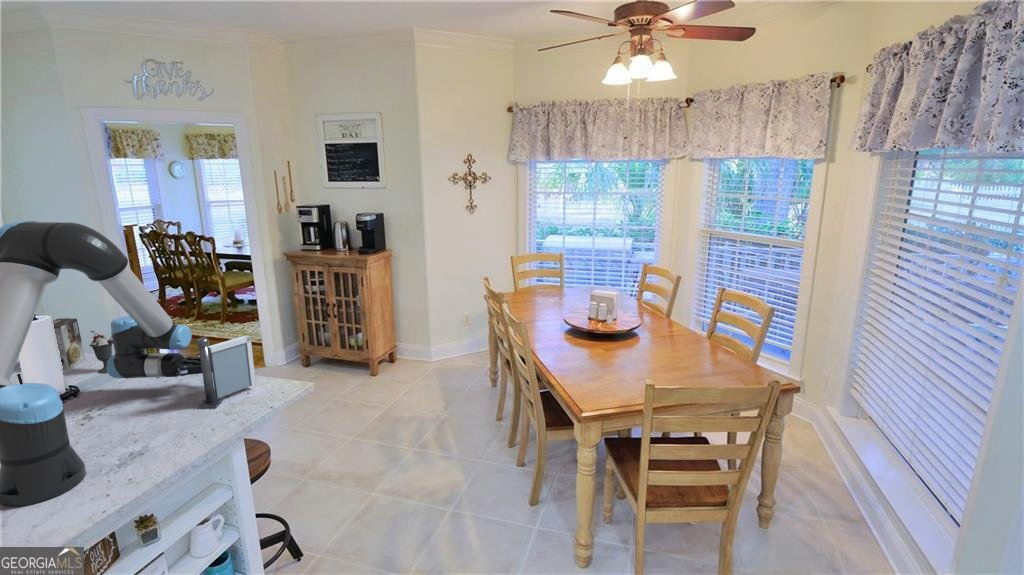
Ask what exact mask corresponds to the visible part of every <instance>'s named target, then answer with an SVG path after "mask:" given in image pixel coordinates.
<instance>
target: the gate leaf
mask: <svg viewBox="0 0 1024 575" xmlns="http://www.w3.org/2000/svg"><path fill="white" fill-rule="evenodd" d="M208 347H209V355H210V359H211V366H212V378H213V386H214V393H215V398H224V397H226V396H228V395H230V394H233V393H235V392H238V391H241V390H243V389H246V388H248V387H253V386H256V385H257V383H256V373H255V365H254V354H253V347H252V338H251V336H250V335H248V334H245V335H243V336H239V337H236V338H232V339H229V340H226V341H222V342H218V343H215V344H212V345H208Z"/></svg>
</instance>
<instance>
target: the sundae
mask: <svg viewBox="0 0 1024 575" xmlns="http://www.w3.org/2000/svg"><path fill="white" fill-rule="evenodd" d="M90 333H93V334H94V336H92V340H91V343H90V344H89V347H91V348H92V350H93V351H94V352H93V353H94V355H95V357H96V359H97V361H100V362H102V364H103V366H102V368H101V369H99V370H97V373H98V374H108V371H107V366H108V364H107V362H108V360H109V358H110V357H111V356H113V355H112V354H113V345H114V344H113V339H112V335H111V336H110V337H109V338H108V336H106V335H103V334H102V335H101V334H99V333H97V332H95V331H94V330H91V331H90ZM96 334H97V335H96Z"/></svg>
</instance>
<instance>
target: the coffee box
mask: <svg viewBox="0 0 1024 575" xmlns="http://www.w3.org/2000/svg"><path fill="white" fill-rule="evenodd" d="M52 321H53V324H54V329H55V334H56V339H57V344H58V349H59V351H60V358H61V362H62V366H63V369H65V370H64V371H66V370H67V371H68V370H71V369H73V368H74V367H76V366H78V365H79V364H81V363H82V362H84V361H86V356H85V352H84V347H83V341H82V338H81V337H82V336H81V333H80V332H81V331H80V327H79V322H78V319H77V317H75V318H70V317H69V318H68V317H66V318H65V317H64V318H55V319H53V320H52Z"/></svg>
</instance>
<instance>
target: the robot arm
mask: <svg viewBox="0 0 1024 575" xmlns="http://www.w3.org/2000/svg"><path fill="white" fill-rule="evenodd" d="M61 270H74V271H79V272H81V273H83V274H84V275H85V276H86V277H87V278H88V279H89V280H90V281H93V282H98V283H99V284H100V285H101V286H102V287H103V289H104V290H105V291H106V292H107V293H108V294H109V295H110V296H111V297H112V298H113V299H114V300H115V301H116V302H117V304H118V305H119V306H120V308H122V309H123V310H124V312H126V313H127V315H126V316H119V317H117V318H114V319H112V321H111V322H110V329H111V333H110V335H111V336H112V338H111V340H113V344H112V345H113V349H114V354H113V355H112V356H111V357H110V358H109V360H108V361H107V364H108V366H107V371H108V373H107V374H108V375H109V376H110V377H112V378H115V379H126V380H127V379H139V378H141V379H142V378H144V379H145V378H156V379H160V378H164V377H165V378H177V377H179V376H180V377H183V376H184V377H185V376H190V375H191V376H192V375H199V374H202V366H201V359H200V353H198V354H196V357H194V356H187V357H184V356H183V355H182V354H181V353H179V352H168V353H166V352H158V353H155V352H154V353H153V352H152V353H146V349H148V350H149V349H151V350H152V349H153V350H170V351H173V350H184V349H185V348H188V347H189V345H190V342H191V341H192V336H193V335H192V330H191V328H190V327H189V326H187V325H183V324H176V323H175V322H174V320H173V319H172V318H171V316H169V314H168V312H166V311H165V310H164V308H163V307H162V305H160V304H159V302H158V301H157V300H156V299H155V297H154V296H153V295H152V294H151V292H150V291H149V290H148V289H147V288H146V286H145V285H144V284H143V282H142V281H141V280H140V279H139V278H138V277H137V275H136V274H135V273H134V272H133V270H132V269H131V267H129V258H128V257H127V256H126V255H125V254H124V253H123V251H121V249H120V248H119V247H118V246H117V245H116V244H114V242H113V241H111V240H110V239H108V238H107V237H106V236H105V235H104V234H102V233H101V232H99V231H97V230H95V229H93V228H91V227H89V226H87V225H85V224H81V223H78V222H67V221H65V222H57V221H55V222H54V221H53V222H52V221H50V222H49V221H47V222H46V221H34V220H27V221H26V220H23V221H15V222H14V221H13V222H9V223H7V224H5V225H2V226H1V227H0V505H3V506H5V507H21V506H22V507H24V506H28V505H33V504H37V503H40V502H44V501H48V500H50V499H54V498H56V497H58V496H60V495H63V494H64V493H67V492H68V491H69V490H71V489H74V487H76V486H77V485H79V484H80V483H81V482H82V481H83V480H84V479H85V478H86V475H87V469H86V465H85V462H84V460H83V459H81V457H80V456H79V454H78V453H77V452H76V451H75V449H74V448H73V447H72V445H71V442H70V437H69V432H68V427H67V421H66V415H65V411H64V405H63V400H62V399H61V396H60V394H59V392H58V390H57V389H56V388H55V387H54V386H52V385H51V384H50V385H49V384H47V383H42V382H41V383H40V382H24V383H23V384H20V383H16V384H15V383H13V382H12V381H11V378H12V377H11V376H12V374H13V372H14V369H15V367H16V365H17V361H18V359H19V357H20V353H21V352H22V349H23V346H24V343H25V341H26V338H27V335H28V333H29V331H30V329H31V328H30V327H31V325H32V323H33V320H34V318H35V316H36V315H35V314H36V312H37V310H38V307H39V305H40V303H41V300H42V297H43V295H44V292H45V290H46V287H47V286H48V285H49V284H51V283H55V282H56V281H58V278H59V276H60V273H61ZM210 363H211V359H210ZM211 370H212V366H211Z"/></svg>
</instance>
